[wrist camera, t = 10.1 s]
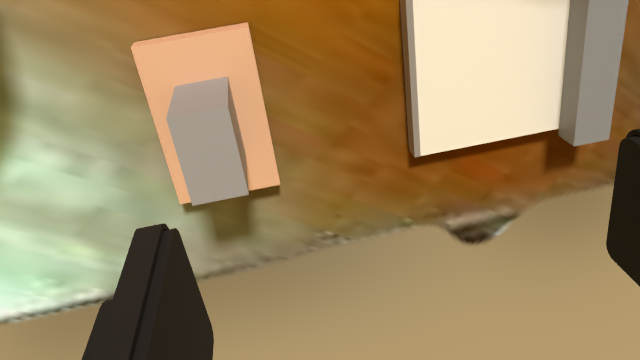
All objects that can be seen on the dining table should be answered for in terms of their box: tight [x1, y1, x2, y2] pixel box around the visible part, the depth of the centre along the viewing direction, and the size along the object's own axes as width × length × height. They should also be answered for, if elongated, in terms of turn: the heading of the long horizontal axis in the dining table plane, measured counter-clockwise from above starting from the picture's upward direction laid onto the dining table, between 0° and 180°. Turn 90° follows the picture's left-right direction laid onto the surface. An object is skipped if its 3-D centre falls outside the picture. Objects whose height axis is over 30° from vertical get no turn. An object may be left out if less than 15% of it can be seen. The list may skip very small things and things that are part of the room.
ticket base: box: [400, 0, 629, 157], centre depth 32 cm, size 13×11×3 cm
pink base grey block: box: [131, 22, 280, 206], centre depth 29 cm, size 6×10×6 cm, turn 8°
